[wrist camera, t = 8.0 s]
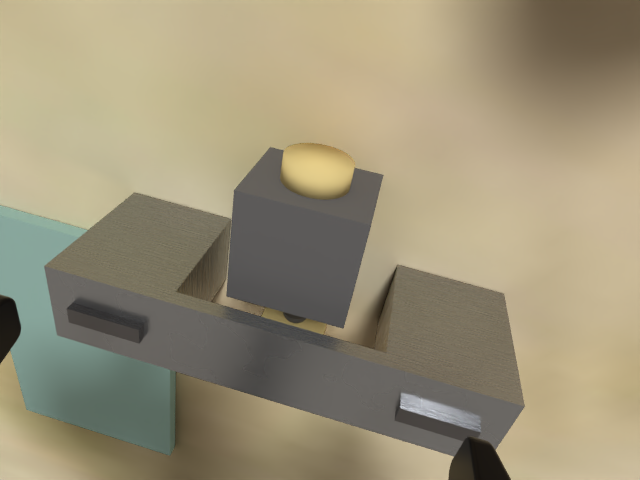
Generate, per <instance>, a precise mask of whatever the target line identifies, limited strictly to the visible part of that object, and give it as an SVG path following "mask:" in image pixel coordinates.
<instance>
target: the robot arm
mask: <svg viewBox="0 0 640 480" xmlns="http://www.w3.org/2000/svg"><path fill="white" fill-rule="evenodd" d="M20 333H21V323H20V319H19V315H18V311H17V306H16V303H15V301H14V300H13V299H12V298H10V297H7V296H4V295H1V294H0V363H1V362H2V361H3V359H4V358H5V356H6V355H7V354H8V352H9V351H10V350H11V348H12V347H13V345H14V344H15V343H16V341H17V340H18V338H19V336H20ZM449 480H511V479H510V477H509V475H508V473H507V471H506V469H505V468H504V466H503V464H502V462H501V460H500V458H499V456H498V454H497V453H496V451H495V449H494V447H493V445H492V444H491V443H490V442H488V441H486V440H482V439H479V438H476V437H473V436H468V437H466V439H465V440H464V441H463V443H462V445H461V446H460V448H459V450H458V451H457V453H456V455H455V456H454V458H453V460H452V462H451V466H450V470H449Z"/></svg>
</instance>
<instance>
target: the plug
mask: <svg viewBox="0 0 640 480" xmlns="http://www.w3.org/2000/svg"><path fill="white" fill-rule="evenodd" d="M382 178H383V175H381V174H377V173H373V172H369V171H365V170H361V169H357V168H355V162H354V160H353V159H352V158H351V157H350V156H349V155H348V154H346V153H345V152H343V151H341V150H339V149H336V148H333V147H330V146H326V145H322V144H314V143H300V144H294V145H291V146H289V147H287V148H286V149H285V150H284V151H283V150H279V149H275V148H271V147H270V148H269V149H268V151H267V152H266V153H265V154H264V155H263V157H262V158H261V159H260V160H259V161H258V163H257V164H256V165H255V166H254V167H253V168H252V170H251V171H250V172H249V173H248V174H247V176H246V177H245V178H244V179H243V180H242V182H241V183H240V184H239V185H238V186H237V187H236V189H235V190H234V199H233V213H232V227H231V240H230V254H229V268H228V282H227V297H231V298H235V299H238V300H242V301H245V302H249V303H253V304H256V305H260V306H264V307H266V308H265V310H264V312H263V314H262V316H261V317H264V318H268V319H271V320H274V321H278V322H281V323H285V324H288V325H292V326H295V327H299V328H302V329H305V330H309V331H312V332H316V333H319V334H323V335H324V333H325V329H326V325H327V324H329V325H332V326H336V327H340V328H344V325H345V321H346V317H347V313H348V310H349V306H350V302H351V298H352V295H353V291H354V287H355V283H356V280H357V276H358V272H359V268H360V265H361V261H362V257H363V253H364V250H365V246H366V242H367V238H368V235H369V231H370V227H371V223H372V219H373V215H374V211H375V207H376V203H377V199H378V194H379V190H380V186H381V182H382Z"/></svg>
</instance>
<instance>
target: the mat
mask: <svg viewBox="0 0 640 480" xmlns="http://www.w3.org/2000/svg"><path fill="white" fill-rule="evenodd" d="M86 231H88V230H85V229H82V228H78V227H75V226H71V225H68V224H64V223H61V222H57V221H54V220H50V219H47V218H43V217H39V216H36V215H32V214H29V213H25V212H22V211H18V210H15V209H11V208H8V207H4V206H1V205H0V294H1V295H4V296H7V297H10V298H12V299H13V300H14V301H15V303H16V306H17V311H18V315H19V319H20V323H21V333H20V336H19V338H18V340H17V341H16V343H15V344H14V345H13V347H12V348H11V350H10V351H11V354H12V358H13V362H14V365H15V369H16V373H17V376H18V380H19V383H20V387H21V391H22V394H23V398H24V402H25V405H26V409H27V410H29V411H32V412H35V413H38V414H41V415H45V416H48V417H51V418H54V419H57V420H60V421H63V422H66V423H70V424H73V425H76V426H79V427H82V428H85V429H88V430H91V431H95V432H98V433H101V434H104V435H107V436H110V437H113V438H116V439H120V440H123V441H126V442H129V443H132V444H135V445H138V446H141V447H145V448H148V449H151V450H154V451H157V452H160V453H163V454H166V455H171V453H172V451H173V449H174V447H175V390H176V372H175V371H172V370H169V369H166V368H162V367H159V366H156V365H152V364H149V363H146V362H143V361H139V360H136V359H133V358H129V357H126V356H123V355H120V354H116V353H113V352H110V351H106V350H103V349H100V348H97V347H93V346H90V345H87V344H83V343H80V342H77V341H74V340H70V339H67V338H64V337H60V336H57V332H56V327H55V322H54V316H53V311H52V306H51V301H50V295H49V290H48V285H47V279H46V274H45V269H44V265H46V264H47V263H48V262H49V261H51V260H52V259H53V258H54V257H56V256H57V255H58V254H59V253H61V252H62V251H63V250H64V249H65V248H67V247H68V246H69V245H70V244H72V243H73V242H74V241H75V240H77V239H78V238H79V237H80V236H82V235H83V234H84V233H85V232H86Z"/></svg>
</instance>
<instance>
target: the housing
mask: <svg viewBox="0 0 640 480" xmlns="http://www.w3.org/2000/svg"><path fill="white" fill-rule="evenodd" d="M230 225H231V219H229V218H225V217H222V216H218V215H214V214H211V213H207V212H203V211H200V210H196V209H193V208H189V207H185V206H182V205H178V204H174V203H171V202H167V201H163V200H160V199H156V198H152V197H149V196H145V195H141V194H138V193H133V194H132V195H131V196H130V197H128V198H127V199H126V200H125V201H123V202H122V203H121V204H120V205H119V206H117V207H116V208H115V209H114V210H112V211H111V212H110V213H109V214H107V215H106V216H105V217H104V218H102V219H101V220H100V221H99V222H98V223H96V224H95V225H94V226H93V227H91V228H90V229H89V230H88V231H86V232H85V233H84V234H83V235H82V236H80V237H79V238H78V239H77V240H75V241H74V242H73V243H72V244H70V245H69V246H68V247H67V248H65V249H64V250H63V251H62V252H61V253H59V254H58V255H57V256H56V257H54V258H53V259H52V260H51V261H49V262H48V263H47V264H46V265H44V269H45V274H46V279H47V285H48V290H49V295H50V301H51V306H52V311H53V316H54V322H55V327H56V332H57V336H60V337H64V338H67V339H70V340H74V341H77V342H80V343H83V344H87V345H90V346H93V347H97V348H100V349H103V350H106V351H110V352H113V353H116V354H120V355H123V356H126V357H129V358H133V359H136V360H139V361H143V362H146V363H149V364H152V365H156V366H159V367H162V368H166V369H169V370H172V371H175V372H179V373H182V374H185V375H189V376H192V377H195V378H198V379H202V380H205V381H208V382H211V383H215V384H218V385H221V386H225V387H228V388H231V389H234V390H238V391H241V392H244V393H248V394H251V395H254V396H257V397H261V398H264V399H267V400H271V401H274V402H277V403H280V404H284V405H287V406H290V407H294V408H297V409H300V410H303V411H307V412H310V413H313V414H317V415H320V416H323V417H326V418H330V419H333V420H336V421H340V422H343V423H346V424H349V425H353V426H356V427H359V428H363V429H366V430H369V431H372V432H376V433H379V434H382V435H386V436H389V437H392V438H395V439H399V440H402V441H405V442H409V443H412V444H415V445H418V446H422V447H425V448H428V449H432V450H435V451H438V452H441V453H445V454H448V455H451V456H455V455H456V453H457V451H458V450H459V448H460V446H461V445H462V443H463V441H464V440H465V439H466V437H468V436H473V437H476V438H479V439H482V440H486V441H488V442H490V443H491V444H492V445H493V447H494V449H495V450H496V448H497V447H498V445H499V444H500V442H501V441H502V439H503V438H504V436H505V435H506V433H507V432H508V430H509V429H510V428H511V426H512V425H513V423H514V422H515V420H516V419H517V417H518V416H519V414H520V413H521V411H522V410H523V408H524V407H525V405H524V400H523V395H522V389H521V384H520V378H519V373H518V367H517V362H516V357H515V351H514V346H513V340H512V335H511V329H510V324H509V319H508V313H507V308H506V302H505V297H504V294H502V293H499V292H495V291H492V290H488V289H484V288H481V287H477V286H473V285H470V284H466V283H462V282H459V281H455V280H451V279H448V278H444V277H440V276H437V275H433V274H430V273H426V272H422V271H419V270H415V269H411V268H408V267H404V266H400V265H398V266H397V269H396V272H395V275H394V278H393V281H392V283H391V286H390V289H389V292H388V295H387V298H386V301H385V304H384V307H383V310H382V313H381V316H380V319H379V321H378V327H377V333H376V339H375V345H374V349H371V348H368V347H364V346H361V345H357V344H354V343H350V342H347V341H343V340H340V339H337V338H333V337H330V336H326V335H323V334H319V333H316V332H312V331H309V330H305V329H302V328H299V327H295V326H292V325H288V324H285V323H281V322H278V321H274V320H271V319H268V318H264V317H261V316H257V315H254V314H250V313H247V312H243V311H240V310H237V309H233V308H230V307H226V306H223V305H219V304H216V303H212V302H211V301H212V300H213V298H214V297H215V295H216V293H217V292H218V290H219V289H220V287H221V286H222V284H223V282H224V281H225V279H226V271H227V260H228V248H229V236H230Z"/></svg>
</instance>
